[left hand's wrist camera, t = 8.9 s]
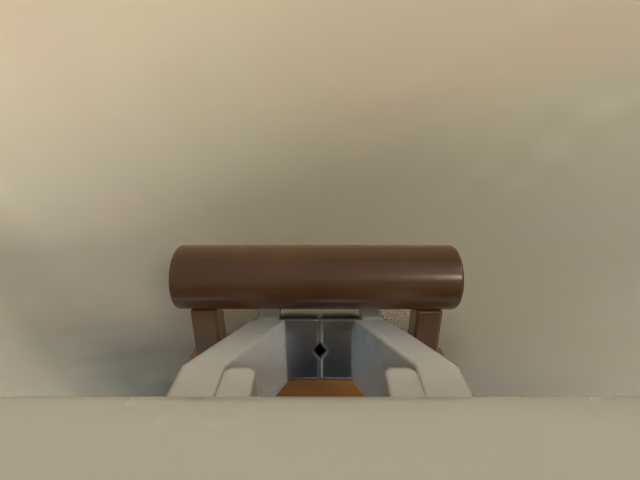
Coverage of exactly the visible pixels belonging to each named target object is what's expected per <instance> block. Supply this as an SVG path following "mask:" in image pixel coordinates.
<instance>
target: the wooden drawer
mask: <svg viewBox="0 0 640 480" xmlns="http://www.w3.org/2000/svg"><path fill="white" fill-rule="evenodd" d="M463 288H464V273H463V266H462V261H461V258H460V255H459V253H458V251H457V250H456V249H455V248H454V247H452V246H383V245H182V246H180V247H179V248H177V250H176V251H175V253H174V255H173V257H172V260H171V264H170V270H169V290H170V295H171V299H172V301H173V303H174V305H175V306H176V307H178V308H180V309H192V310H191V317H192V323H193V330H194V336H195V343H196V348H195V350H194V352H193V354H192V356H191V358H190V360H192V359H193V358H195V357H196V356H198V355H199V354H201V353H202V352H204V351H205V350H207V349H209V348H210V347H212V346H213V345H215V344H216V343H218V342H219V341H221V340H222V339H224V338H225V337H226V331H225V322H224V313H223V309H411V312H410V321H409V330H408V333H409V334H410V335H412V336H413V337H415V338H416V339H418V340H419V341H421V342H422V343H424V344H425V345H427V346H428V347H430V348H431V349H433V350H434V351H436V352H437V353H439V354H440V355H442V356H443V353H442V351H441V349H440V348H437V344H438V338H439V331H440V324H441V318H442V310H441V309H454V308H456V307H457V306H458V305H459V303H460V301H461V298H462V295H463ZM443 357H444V356H443ZM190 360H189V361H190ZM276 397H365V396H364V395H363V394H362V393H361V391H360V390H359V389H358V388H357V387H356V385H355V384H354V383H353V380H321V379H318V380H287V383H286V384H285V386H284V387H283V388H282V389H281V391H280V392H279V393H278V394H277V395H276Z"/></svg>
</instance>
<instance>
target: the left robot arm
mask: <svg viewBox="0 0 640 480" xmlns="http://www.w3.org/2000/svg"><path fill="white" fill-rule="evenodd" d="M318 379H321V380H353V383H354V384H355V385H356V387H357V388H358V389H359V390H360V391H361V393H362V394H363V395H364V396H365V397H276V395H277V394H278V393H279V392H280V391H281V389H282V388H283V387H284V386H285V384H286V383H287V380H318ZM0 480H640V397H474V396H473V394H472V392H471V390H470V388H469V386H468V384H467V382H466V380H465V378H464V376H463V374H462V372H461V370H460V368H459V367H458V366H457V365H455V364H454V363H452V362H451V361H449V360H448V359H446V358H445V357H443V356H442V355H440V354H439V353H437V352H436V351H434V350H433V349H431V348H430V347H428V346H427V345H425V344H424V343H422V342H421V341H419V340H418V339H416V338H415V337H413V336H412V335H410V334H409V333H407V332H406V331H404V330H403V329H401V328H400V327H398V326H397V325H395V324H394V323H392V322H390V321H389V320H383V318H382V315H381V312H380V309H260V311H259V315H258V318H257V320H251V321H250V322H248V323H246V324H245V325H243V326H242V327H240V328H239V329H237V330H236V331H234V332H233V333H231V334H230V335H228V336H227V337H225V338H224V339H222V340H221V341H219V342H218V343H216V344H215V345H213V346H212V347H210V348H209V349H207V350H205V351H204V352H202V353H201V354H199V355H198V356H196V357H195V358H193V359H192V360H190V361H189V362H187V363H186V364H184V365H183V366H182V367H181V369H180V371H179V373H178V375H177V376H176V378H175V380H174V382H173V384H172V386H171V388H170V390H169V392H168V394H167V396H166V397H0Z"/></svg>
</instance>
